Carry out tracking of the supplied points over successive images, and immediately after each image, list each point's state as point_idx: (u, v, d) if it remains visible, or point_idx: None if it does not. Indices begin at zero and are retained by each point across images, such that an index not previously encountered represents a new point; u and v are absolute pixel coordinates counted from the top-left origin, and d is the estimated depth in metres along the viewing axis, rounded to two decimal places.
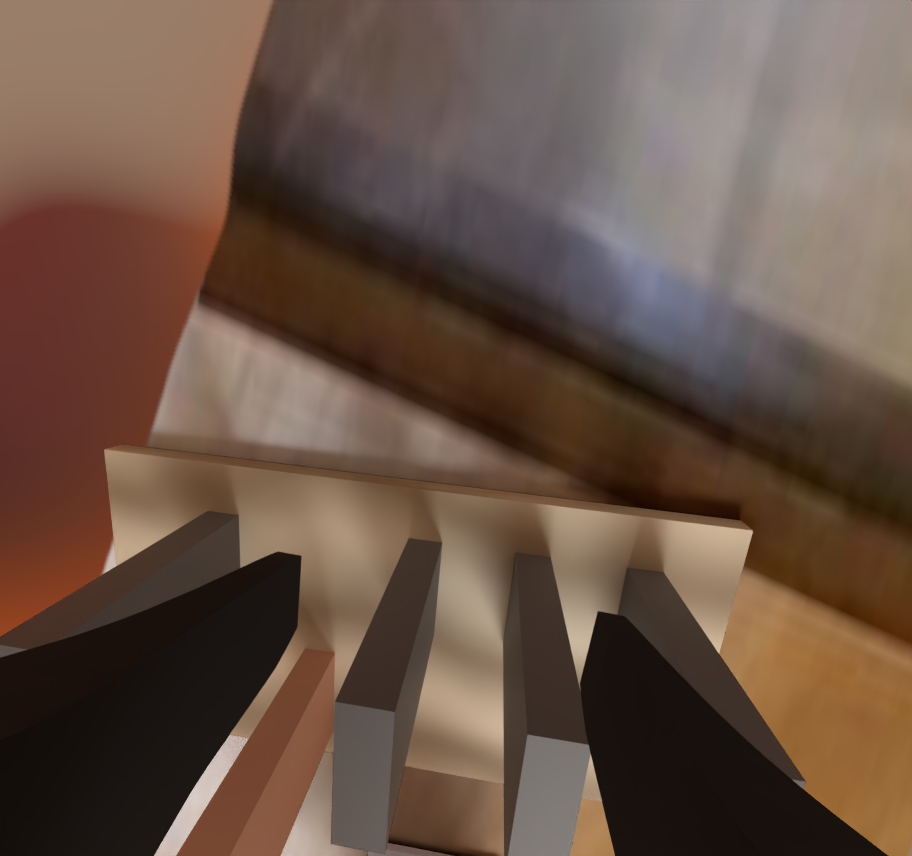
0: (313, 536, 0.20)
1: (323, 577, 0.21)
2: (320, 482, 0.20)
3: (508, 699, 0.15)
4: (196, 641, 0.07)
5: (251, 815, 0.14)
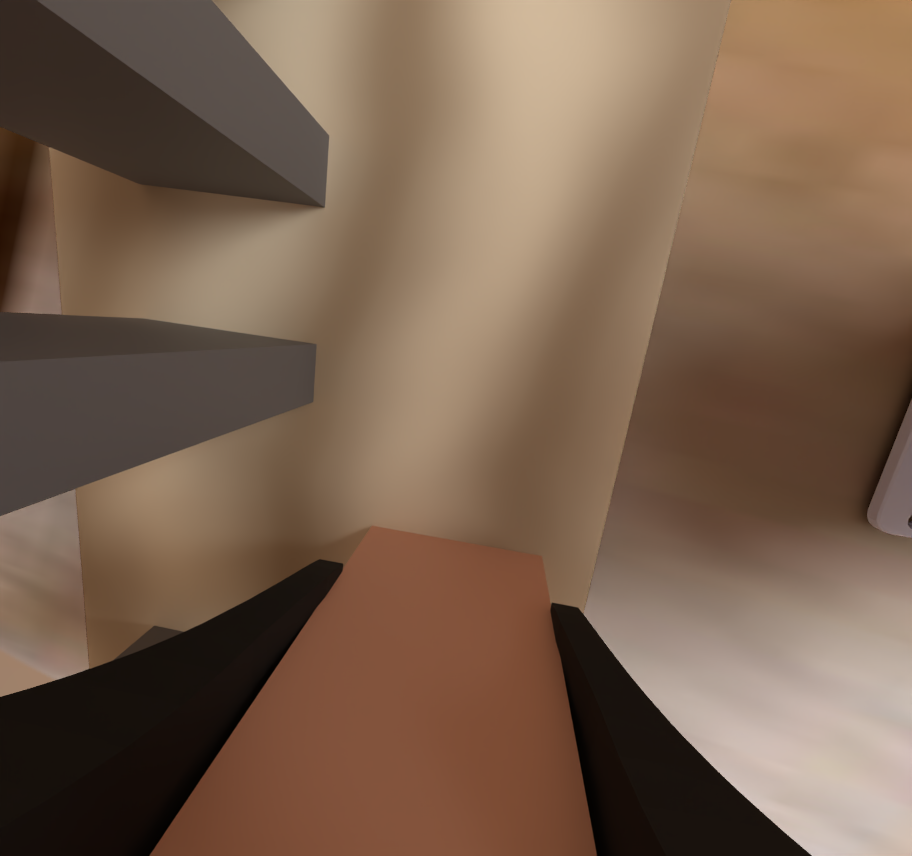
0: (168, 525, 0.13)
1: (234, 522, 0.13)
2: (84, 501, 0.13)
3: (87, 100, 0.06)
4: (257, 654, 0.07)
5: (190, 799, 0.05)
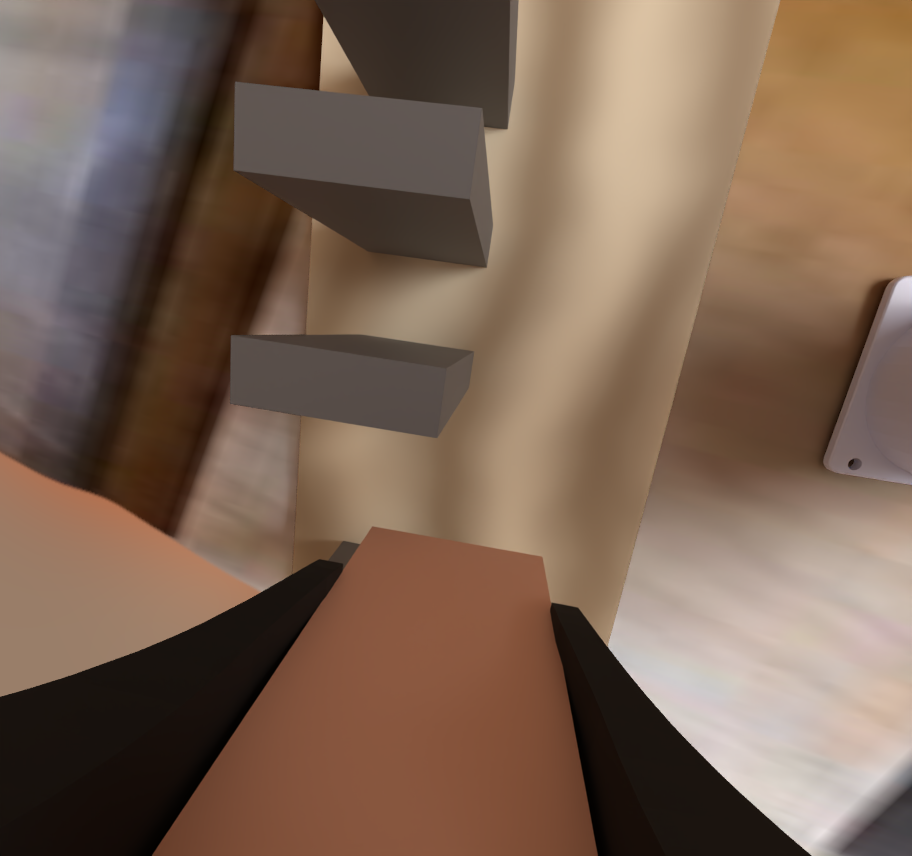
0: (361, 470, 0.20)
1: (407, 468, 0.19)
2: (304, 454, 0.20)
3: (428, 237, 0.13)
4: (257, 654, 0.07)
5: (191, 801, 0.05)
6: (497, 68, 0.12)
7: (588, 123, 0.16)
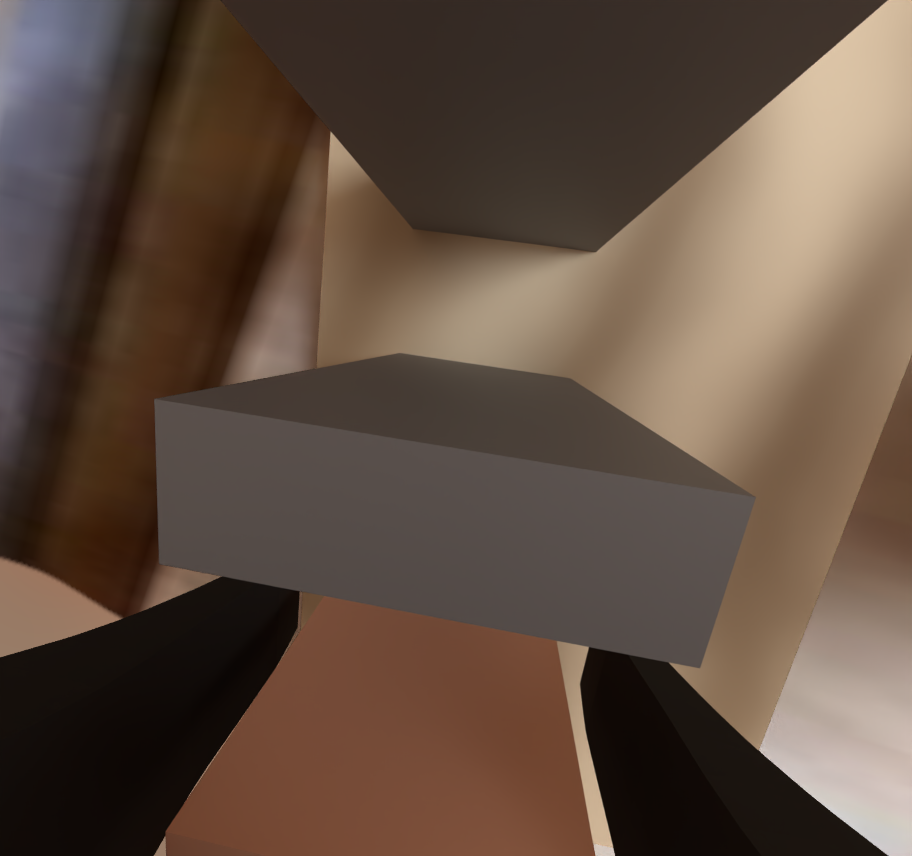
0: None
1: None
2: None
3: (559, 184, 0.07)
4: (196, 641, 0.07)
5: (247, 714, 0.06)
6: None
7: None
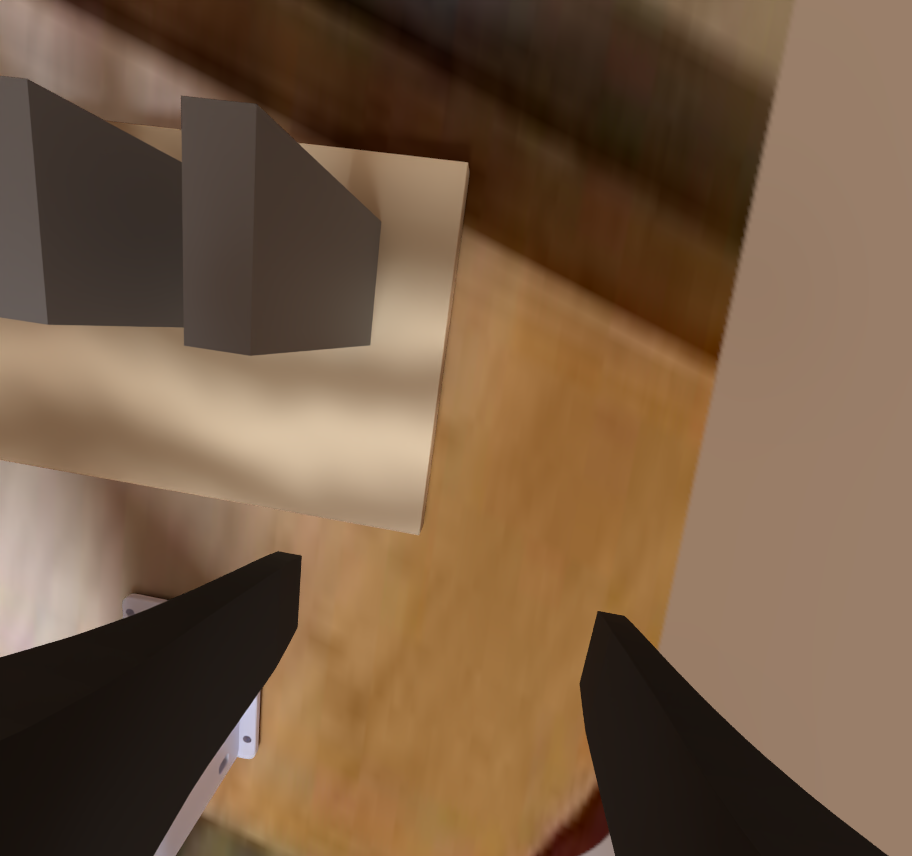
0: None
1: None
2: None
3: None
4: (196, 641, 0.07)
5: None
6: None
7: (340, 407, 0.19)
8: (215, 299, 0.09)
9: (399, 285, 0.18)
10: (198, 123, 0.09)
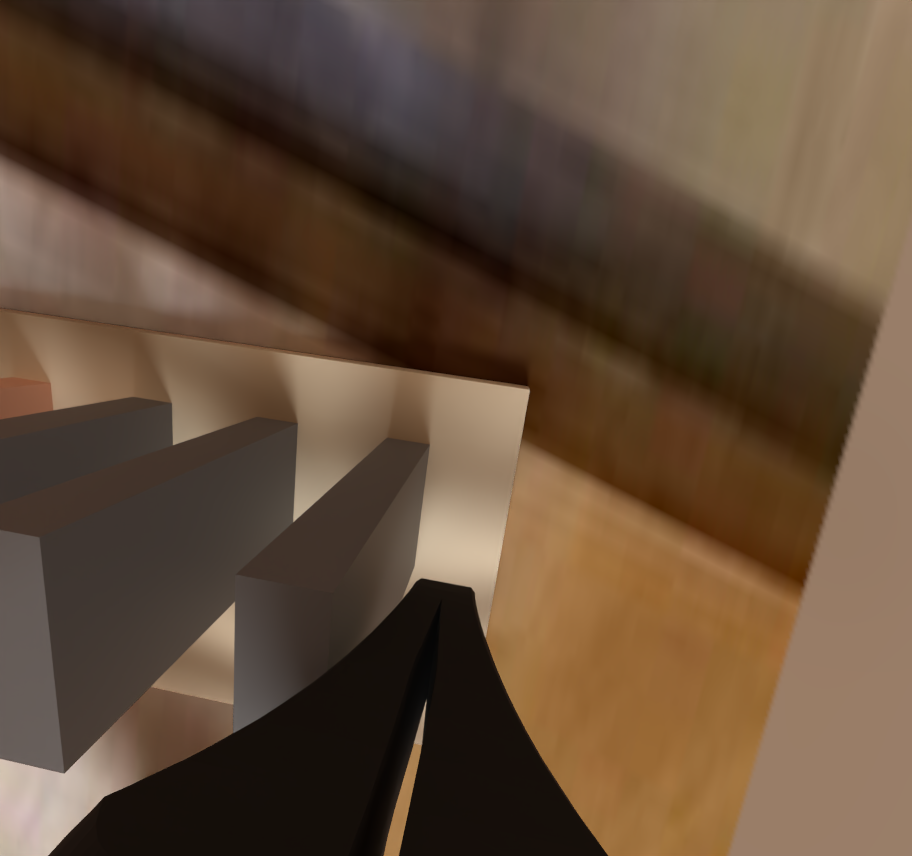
0: None
1: None
2: (23, 322, 0.16)
3: None
4: (409, 685, 0.06)
5: None
6: None
7: None
8: None
9: (448, 509, 0.16)
10: (257, 604, 0.07)
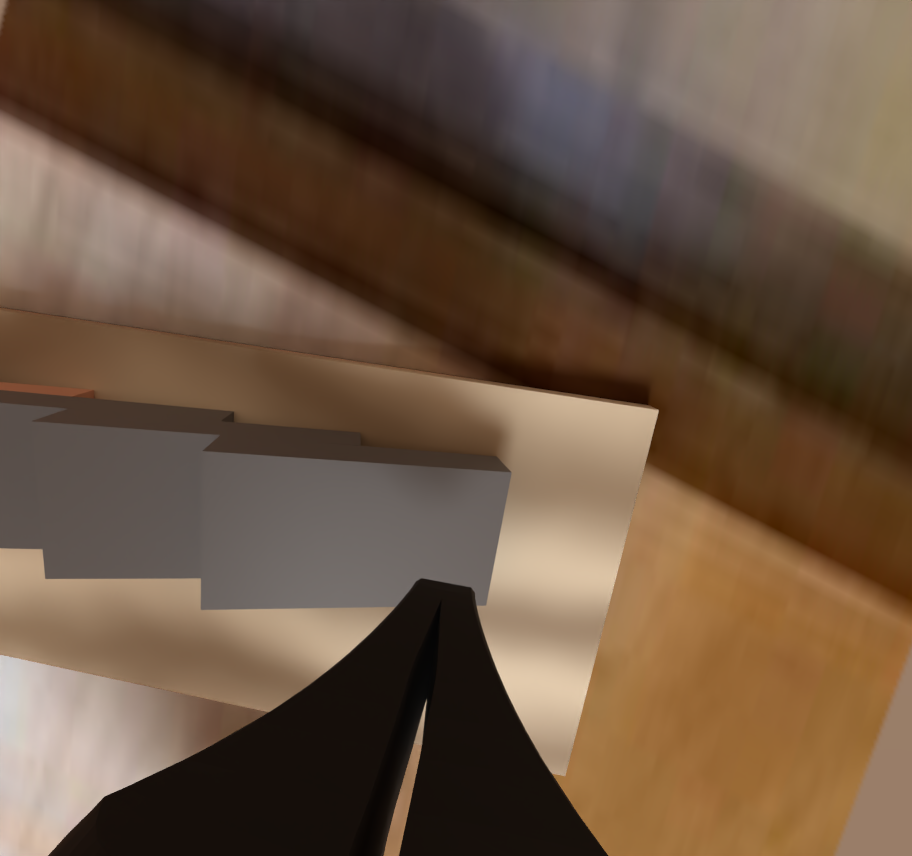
0: None
1: None
2: (131, 338, 0.16)
3: None
4: (409, 685, 0.06)
5: None
6: None
7: None
8: None
9: (565, 529, 0.15)
10: None
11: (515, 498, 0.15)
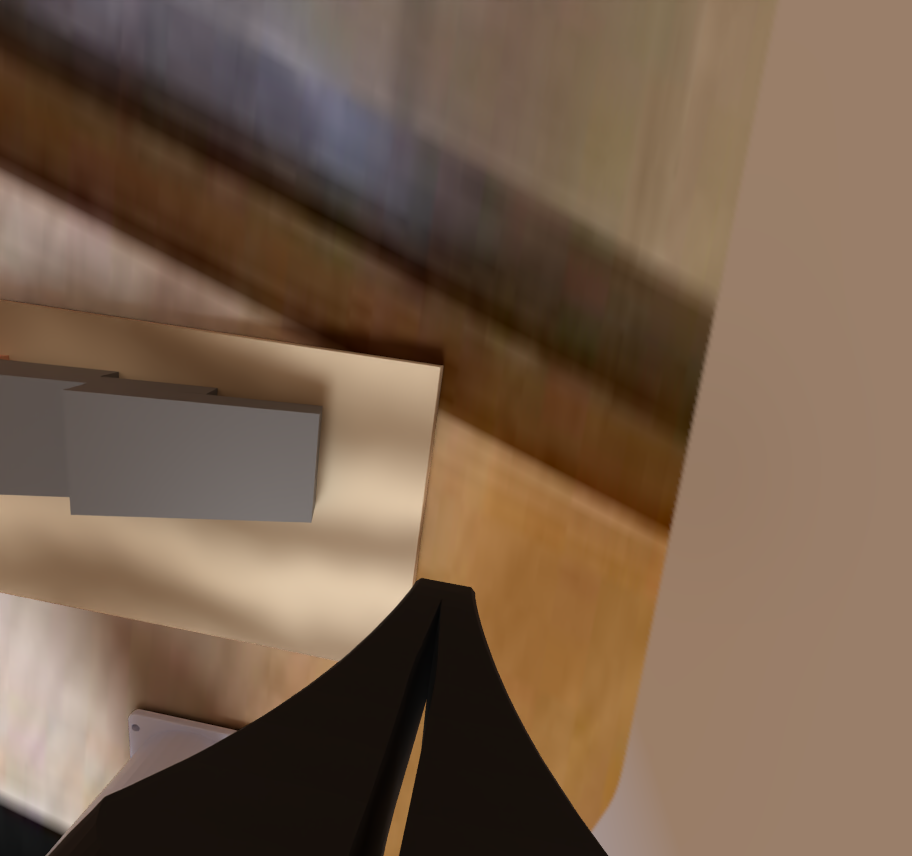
0: None
1: None
2: (36, 313, 0.20)
3: None
4: (409, 685, 0.06)
5: None
6: None
7: (327, 564, 0.21)
8: None
9: (380, 465, 0.19)
10: None
11: (340, 440, 0.19)
